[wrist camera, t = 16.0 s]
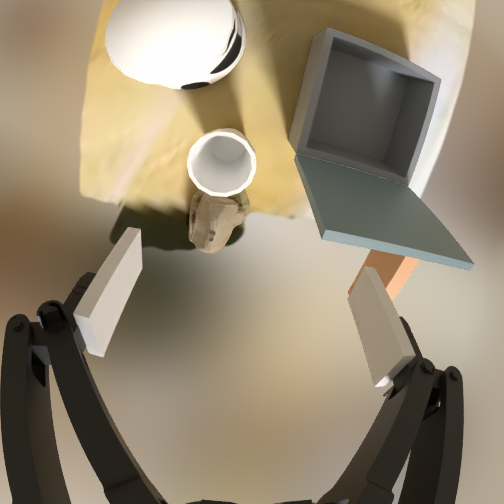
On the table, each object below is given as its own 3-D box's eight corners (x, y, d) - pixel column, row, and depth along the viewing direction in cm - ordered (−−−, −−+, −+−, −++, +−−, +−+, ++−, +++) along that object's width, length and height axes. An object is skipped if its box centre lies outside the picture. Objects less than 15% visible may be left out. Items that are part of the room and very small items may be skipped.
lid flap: (325, 229, 22) (285, 321, 29) (474, 264, 24) (423, 330, 31) (295, 153, 38) (276, 222, 45) (407, 186, 40) (380, 243, 47)
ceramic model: (200, 172, 50) (189, 192, 41) (256, 191, 52) (257, 214, 44) (182, 233, 57) (170, 261, 49) (232, 248, 59) (229, 279, 51)
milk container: (130, 63, 37) (74, 61, 22) (186, -12, 29) (153, -50, 14) (207, 106, 42) (182, 119, 28) (268, 31, 35) (276, 3, 20)
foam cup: (265, 153, 47) (268, 176, 37) (221, 178, 50) (212, 208, 39) (236, 109, 43) (231, 118, 32) (193, 137, 46) (173, 155, 35)
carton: (312, 37, 35) (327, 26, 26) (411, 76, 37) (441, 79, 29) (287, 139, 46) (295, 153, 38) (384, 167, 48) (408, 186, 40)
